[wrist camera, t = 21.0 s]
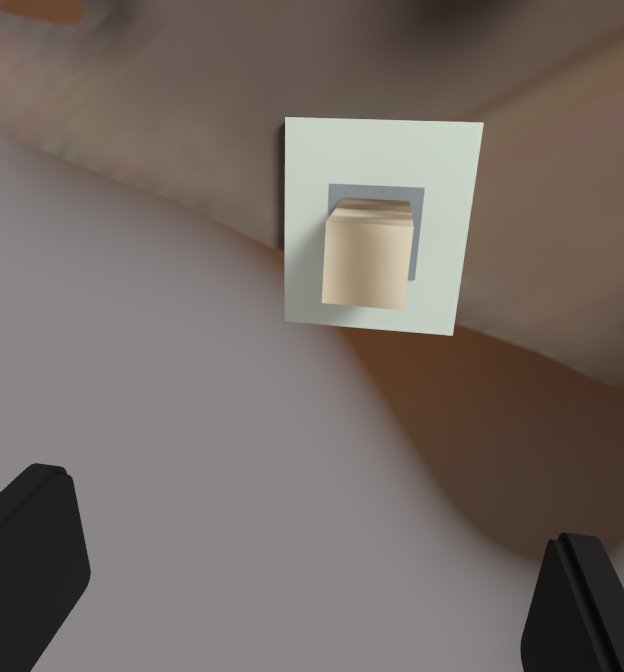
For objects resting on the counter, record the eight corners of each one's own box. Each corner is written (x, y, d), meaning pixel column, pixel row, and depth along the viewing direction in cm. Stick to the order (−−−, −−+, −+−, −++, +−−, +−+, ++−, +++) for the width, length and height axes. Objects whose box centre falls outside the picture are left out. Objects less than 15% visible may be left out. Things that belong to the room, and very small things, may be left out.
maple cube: (411, 213, 33) (413, 227, 29) (403, 286, 35) (403, 310, 31) (336, 207, 34) (326, 221, 29) (331, 280, 36) (321, 303, 31)
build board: (481, 122, 36) (484, 122, 35) (451, 330, 42) (452, 336, 41) (288, 117, 38) (284, 117, 37) (287, 316, 44) (283, 322, 43)
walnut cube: (409, 200, 38) (411, 211, 33) (403, 266, 40) (403, 285, 35) (342, 197, 38) (334, 207, 34) (339, 262, 40) (331, 279, 36)
